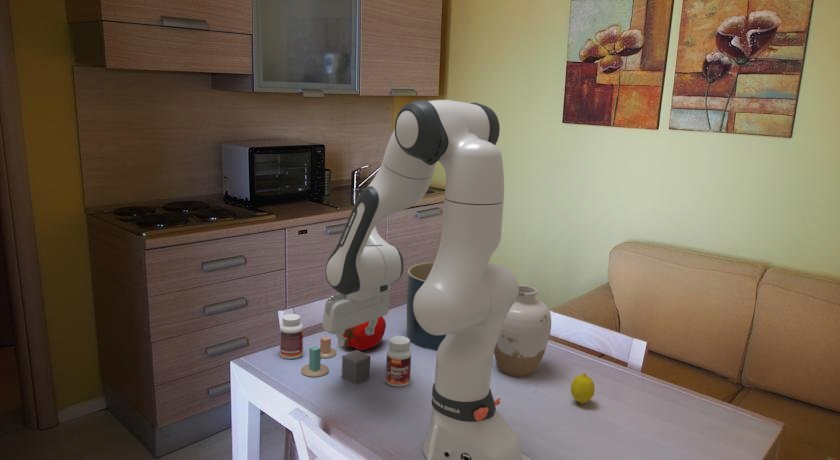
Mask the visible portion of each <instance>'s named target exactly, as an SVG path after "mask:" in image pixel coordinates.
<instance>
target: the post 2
mask: <svg viewBox="0 0 840 460" xmlns="http://www.w3.org/2000/svg"><path fill="white" fill-rule="evenodd" d="M319 348H321V359H332V358H334V357H336V355H337V350H336V349H335V348H333V347H332V337H328V336H324V337H322V338H321V337H320V347H319Z"/></svg>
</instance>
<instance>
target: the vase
mask: <svg viewBox="0 0 840 460" xmlns="http://www.w3.org/2000/svg"><path fill="white" fill-rule="evenodd" d="M518 287H519V292H518V297H517V299H516V301H515V303H514V304H513V305H512V307H511V308H510V310H509V312H508V313H507V316H506V318H505V320H504V323H503V326H502V328H501V331H500V334H499V337H498V340H497V343H496V346H495V350H494V354H493V356H494V358H495V361H496V364H497V367H498V369H499V370H500V372H502V373H503V374H505V375H507V376H509V377H514V378H515V377H516V378H526V377H531V376H532V375H533V374H534V373H535V372H536V371H537V369H538V368H539V365H540V364H541V362H542V360H543V358H544V356H545V352H546V350H547V346H548V342H549V339H550V337H551V336H550V335H551V329H552V315H551V311H550V308H549V307H548V306H547V304H546V303H544V302H543V301H542V300H539V299H537V298H536V295H537V294H538V289H537V288H536V287H534V286H531V285H527V284H518Z"/></svg>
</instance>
